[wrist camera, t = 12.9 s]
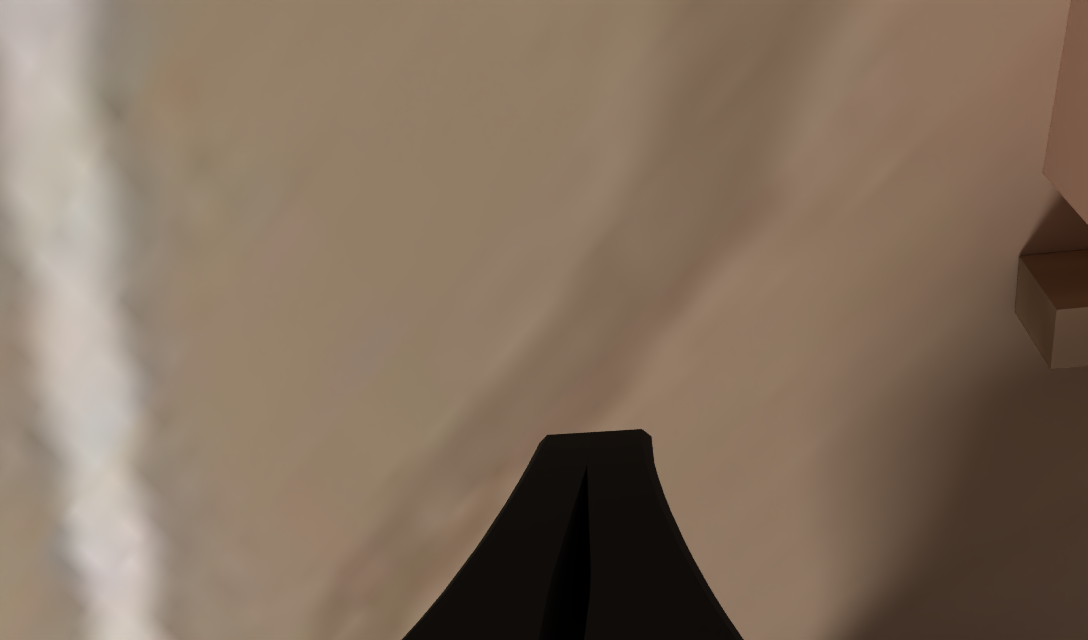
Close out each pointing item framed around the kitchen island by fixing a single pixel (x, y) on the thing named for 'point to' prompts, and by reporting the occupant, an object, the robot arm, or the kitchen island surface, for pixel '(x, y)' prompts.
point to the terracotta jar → (1071, 115)
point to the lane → (1055, 305)
